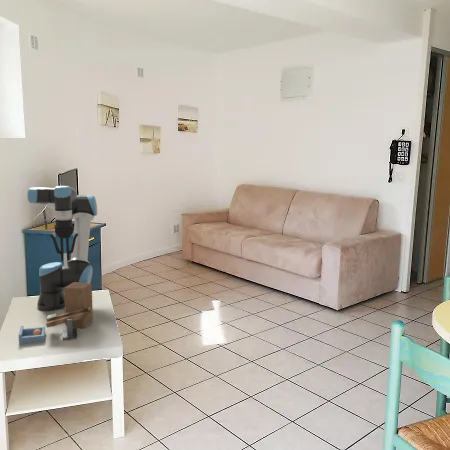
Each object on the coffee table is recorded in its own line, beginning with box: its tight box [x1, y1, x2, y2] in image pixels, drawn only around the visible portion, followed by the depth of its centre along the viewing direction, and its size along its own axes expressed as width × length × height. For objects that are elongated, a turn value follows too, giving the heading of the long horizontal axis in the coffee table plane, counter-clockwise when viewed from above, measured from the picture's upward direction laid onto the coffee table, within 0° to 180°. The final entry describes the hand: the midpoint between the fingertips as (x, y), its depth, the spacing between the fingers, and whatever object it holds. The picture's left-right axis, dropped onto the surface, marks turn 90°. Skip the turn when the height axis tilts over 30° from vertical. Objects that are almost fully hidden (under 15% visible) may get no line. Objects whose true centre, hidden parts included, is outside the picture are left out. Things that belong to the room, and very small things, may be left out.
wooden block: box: [63, 282, 94, 329], centre depth 231 cm, size 10×10×20 cm
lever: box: [45, 305, 92, 329], centre depth 222 cm, size 20×13×4 cm, turn 108°
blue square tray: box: [18, 325, 46, 346], centre depth 215 cm, size 10×10×4 cm
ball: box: [33, 329, 42, 336], centre depth 216 cm, size 4×4×4 cm
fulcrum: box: [62, 312, 78, 341], centre depth 220 cm, size 6×11×9 cm, turn 18°
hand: (65, 267), depth 229 cm, fingers closed
